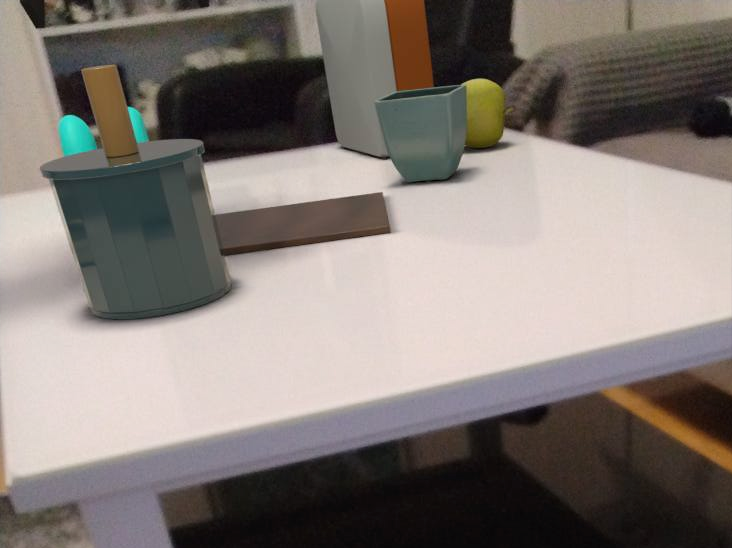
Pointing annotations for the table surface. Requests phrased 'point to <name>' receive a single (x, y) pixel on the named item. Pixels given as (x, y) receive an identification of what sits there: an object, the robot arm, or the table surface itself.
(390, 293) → the table surface
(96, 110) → the lid
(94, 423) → the table surface
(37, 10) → the robot arm
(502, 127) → the apple
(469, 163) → the table surface
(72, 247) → the canister
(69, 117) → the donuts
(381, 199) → the board
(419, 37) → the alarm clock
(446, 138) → the flower pot
